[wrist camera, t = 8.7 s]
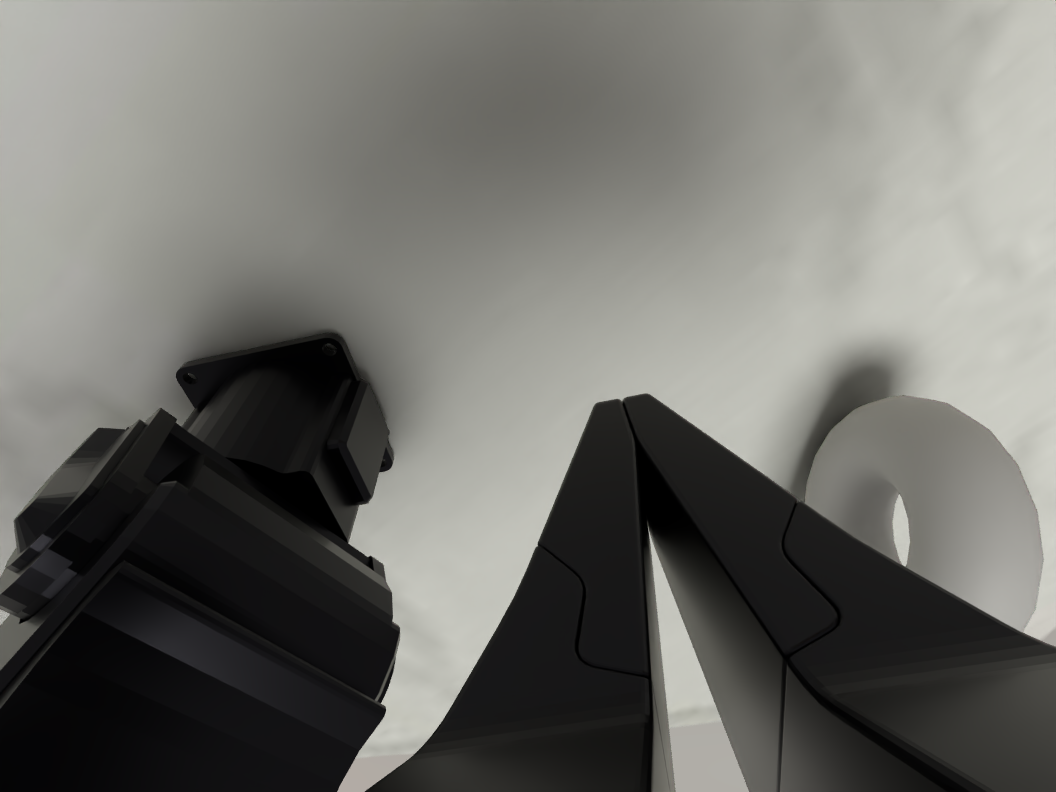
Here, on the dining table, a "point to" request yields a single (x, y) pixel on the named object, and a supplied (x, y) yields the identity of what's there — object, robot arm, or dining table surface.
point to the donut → (935, 500)
